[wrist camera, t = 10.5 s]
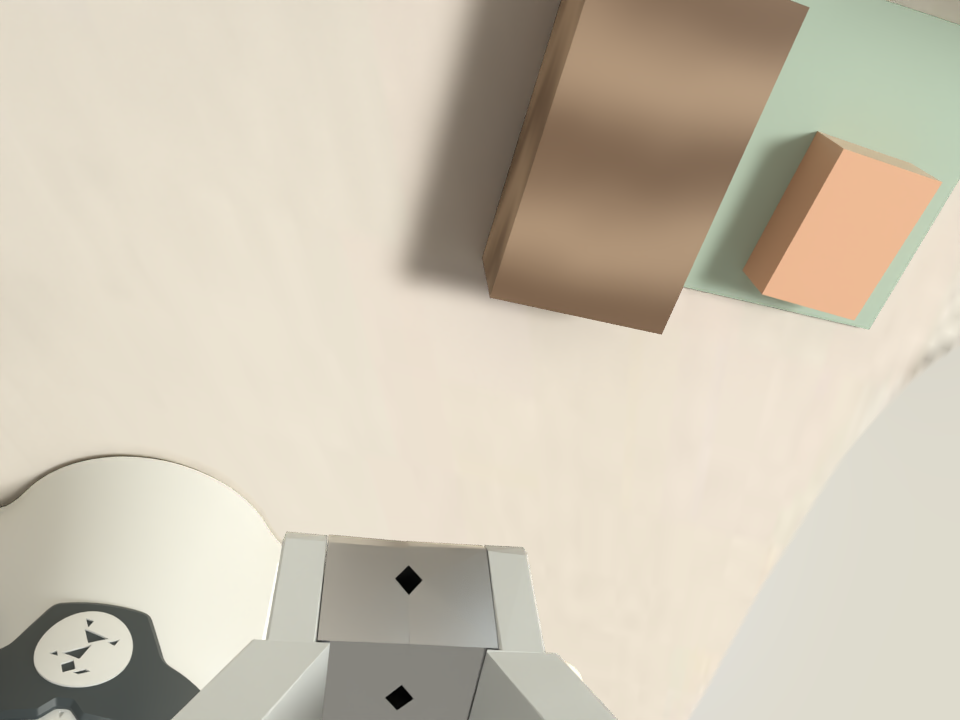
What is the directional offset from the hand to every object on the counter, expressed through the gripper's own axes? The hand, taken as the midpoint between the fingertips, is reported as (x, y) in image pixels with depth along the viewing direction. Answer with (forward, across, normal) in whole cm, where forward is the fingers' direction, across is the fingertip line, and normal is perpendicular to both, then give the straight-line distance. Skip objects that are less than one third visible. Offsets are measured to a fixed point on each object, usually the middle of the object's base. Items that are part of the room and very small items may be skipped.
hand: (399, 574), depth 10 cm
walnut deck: (+27, -9, +1) cm, 29 cm away
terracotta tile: (+24, -20, +3) cm, 32 cm away
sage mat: (+27, -20, +1) cm, 34 cm away
